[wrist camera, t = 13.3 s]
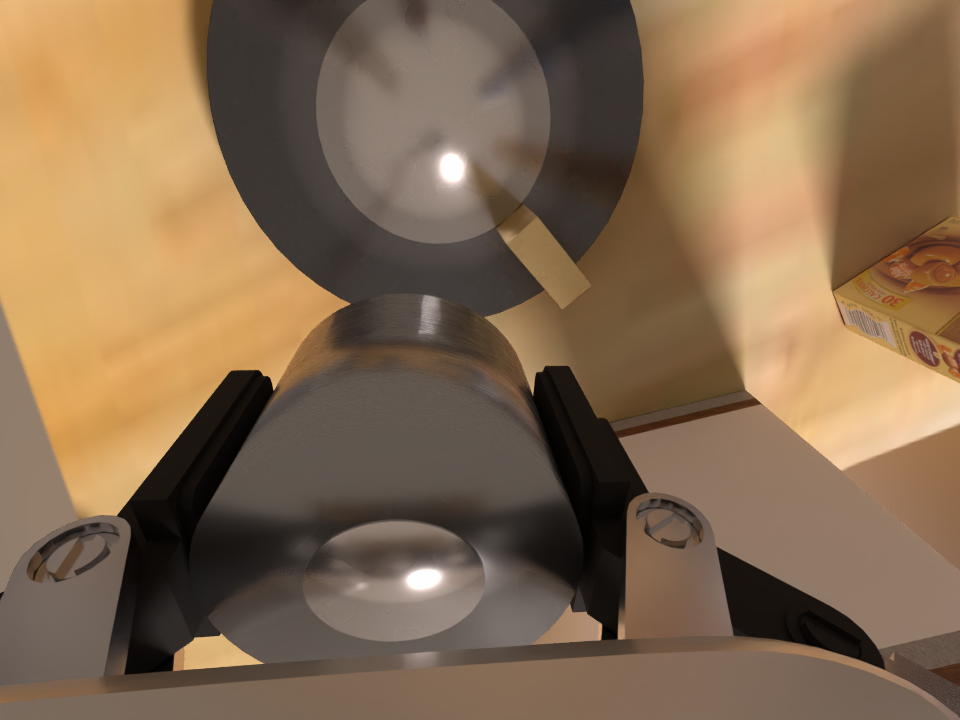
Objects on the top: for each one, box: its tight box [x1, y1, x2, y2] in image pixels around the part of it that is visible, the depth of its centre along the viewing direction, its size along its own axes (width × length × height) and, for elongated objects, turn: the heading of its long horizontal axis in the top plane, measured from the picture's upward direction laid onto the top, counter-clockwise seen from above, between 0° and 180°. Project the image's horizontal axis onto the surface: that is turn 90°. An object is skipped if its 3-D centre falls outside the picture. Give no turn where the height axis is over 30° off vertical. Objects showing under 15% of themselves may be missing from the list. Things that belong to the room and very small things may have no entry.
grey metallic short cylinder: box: [189, 293, 584, 664], centre depth 9 cm, size 6×6×5 cm
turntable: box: [207, 0, 644, 317], centre depth 23 cm, size 22×22×6 cm
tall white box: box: [610, 390, 960, 687], centre depth 24 cm, size 11×11×35 cm
